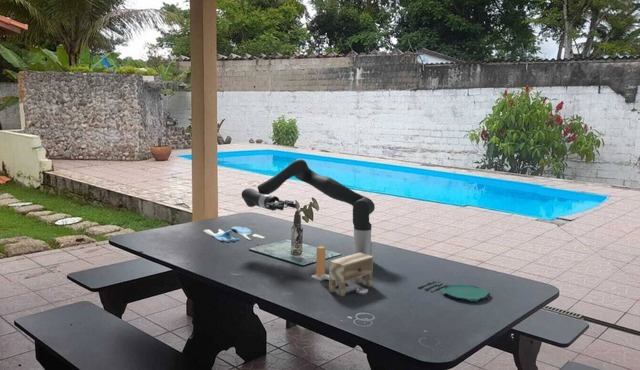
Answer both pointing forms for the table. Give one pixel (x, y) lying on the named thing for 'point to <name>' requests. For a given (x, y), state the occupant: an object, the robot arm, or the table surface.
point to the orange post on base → (321, 265)
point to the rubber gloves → (227, 237)
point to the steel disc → (362, 291)
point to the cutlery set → (461, 291)
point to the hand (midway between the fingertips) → (289, 207)
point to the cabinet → (350, 271)
